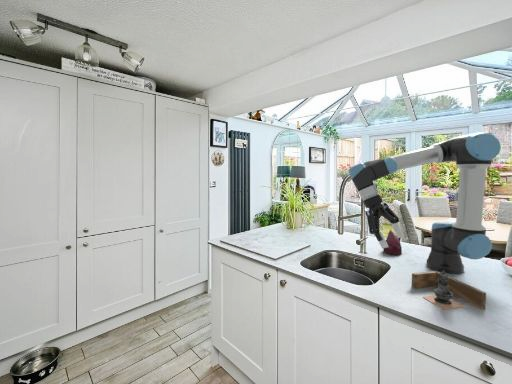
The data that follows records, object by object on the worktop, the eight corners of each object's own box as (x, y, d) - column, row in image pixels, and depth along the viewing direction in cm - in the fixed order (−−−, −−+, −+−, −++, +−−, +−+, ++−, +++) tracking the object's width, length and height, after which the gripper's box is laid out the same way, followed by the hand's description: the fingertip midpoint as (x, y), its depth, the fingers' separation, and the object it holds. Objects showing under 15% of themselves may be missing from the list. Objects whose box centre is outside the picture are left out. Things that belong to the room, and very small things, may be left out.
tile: (442, 294, 99) (442, 294, 99) (465, 306, 90) (465, 306, 90) (422, 297, 98) (422, 296, 98) (443, 309, 89) (443, 308, 89)
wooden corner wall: (436, 284, 108) (436, 270, 108) (485, 309, 89) (486, 292, 88) (411, 286, 106) (411, 273, 106) (456, 312, 87) (457, 296, 86)
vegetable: (381, 255, 156) (376, 231, 159) (399, 253, 154) (393, 229, 157) (387, 256, 146) (381, 230, 148) (406, 254, 144) (400, 228, 147)
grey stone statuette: (433, 295, 98) (434, 265, 97) (452, 300, 94) (454, 269, 94) (432, 301, 94) (433, 270, 93) (452, 306, 90) (453, 274, 89)
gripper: (378, 194, 121) (399, 235, 117) (347, 206, 107) (370, 253, 103) (392, 188, 115) (415, 231, 111) (361, 200, 101) (386, 250, 97)
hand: (393, 242), depth 107 cm, fingers open, 13 cm apart
